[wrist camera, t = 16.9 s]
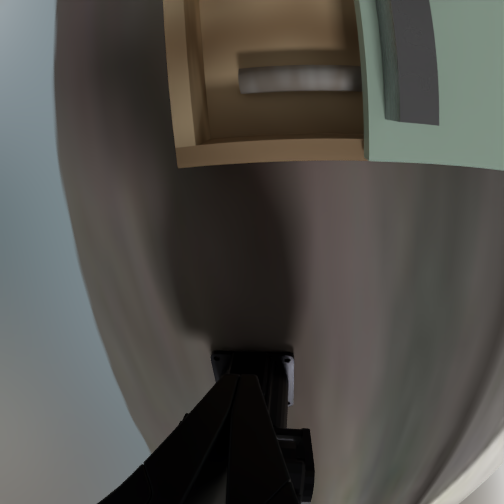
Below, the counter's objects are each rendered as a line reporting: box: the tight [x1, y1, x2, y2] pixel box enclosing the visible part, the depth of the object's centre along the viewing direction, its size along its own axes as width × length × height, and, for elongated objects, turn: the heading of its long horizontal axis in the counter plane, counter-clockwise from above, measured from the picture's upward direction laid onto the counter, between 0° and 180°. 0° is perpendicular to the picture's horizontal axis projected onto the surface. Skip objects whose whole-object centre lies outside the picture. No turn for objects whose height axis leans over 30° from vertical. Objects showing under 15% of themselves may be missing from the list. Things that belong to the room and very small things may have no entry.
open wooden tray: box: [163, 0, 368, 168], centre depth 13 cm, size 12×16×4 cm
